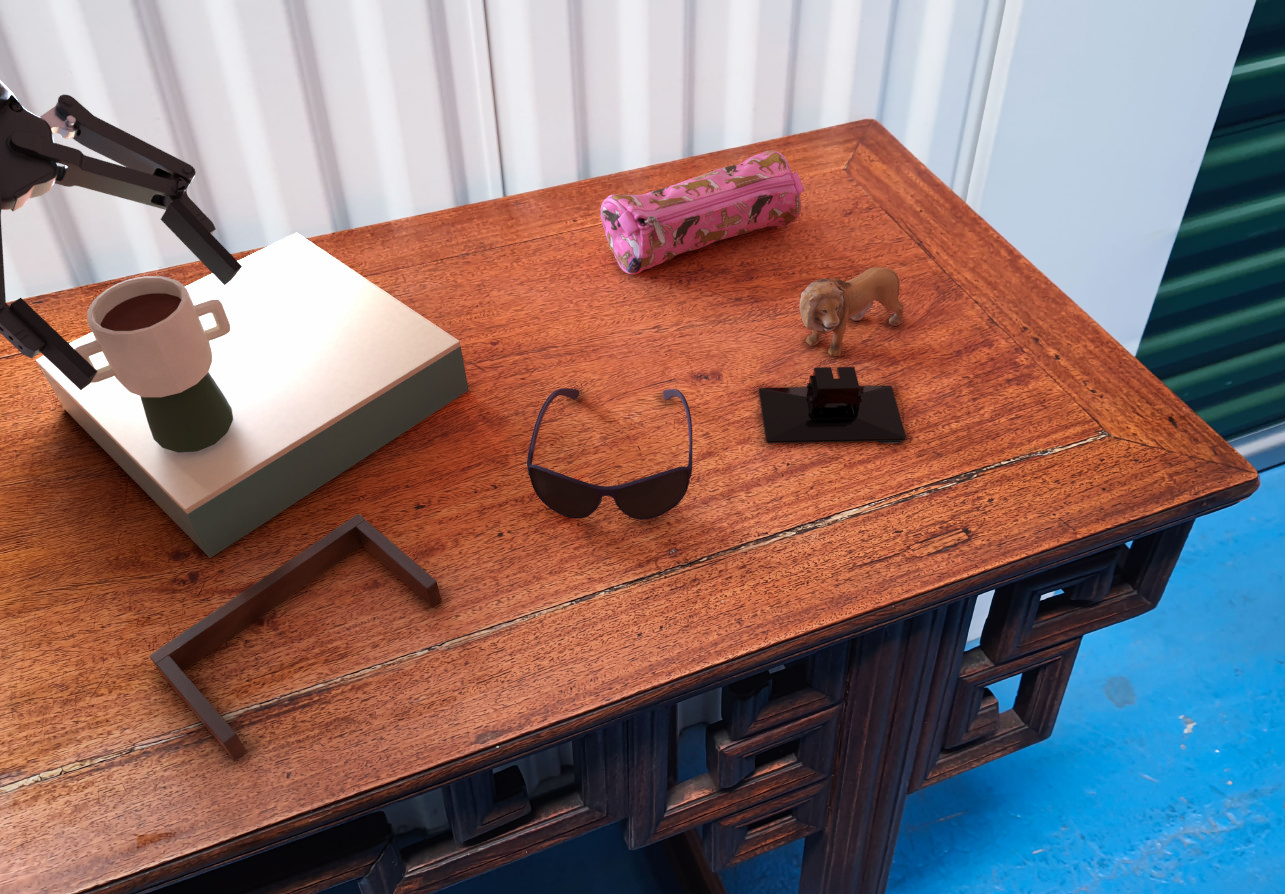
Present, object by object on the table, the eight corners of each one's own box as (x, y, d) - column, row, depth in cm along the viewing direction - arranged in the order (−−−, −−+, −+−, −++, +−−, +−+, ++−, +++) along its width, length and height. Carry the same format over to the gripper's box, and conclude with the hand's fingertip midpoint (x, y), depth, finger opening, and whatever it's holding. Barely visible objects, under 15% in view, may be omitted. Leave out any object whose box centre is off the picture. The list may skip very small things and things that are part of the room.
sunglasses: (526, 523, 82) (520, 483, 78) (544, 394, 93) (540, 353, 89) (692, 526, 81) (693, 485, 78) (690, 395, 92) (691, 354, 89)
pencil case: (634, 295, 103) (632, 222, 97) (595, 250, 109) (591, 178, 103) (805, 240, 110) (815, 168, 104) (761, 200, 116) (767, 130, 110)
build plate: (890, 389, 93) (899, 350, 90) (906, 444, 88) (916, 406, 85) (758, 390, 93) (762, 352, 89) (766, 445, 88) (771, 407, 84)
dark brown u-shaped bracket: (234, 761, 67) (223, 743, 65) (161, 674, 72) (148, 655, 70) (442, 600, 76) (437, 581, 75) (364, 532, 81) (358, 512, 79)
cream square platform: (210, 558, 80) (184, 509, 75) (63, 408, 92) (34, 359, 88) (469, 390, 93) (460, 340, 89) (311, 280, 106) (296, 232, 102)
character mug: (247, 382, 85) (197, 255, 76) (276, 429, 81) (227, 301, 72) (117, 433, 81) (47, 305, 72) (140, 486, 77) (69, 357, 68)
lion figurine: (821, 383, 93) (833, 306, 87) (778, 356, 96) (787, 280, 90) (915, 316, 100) (932, 240, 94) (872, 292, 103) (887, 218, 97)
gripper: (67, 44, 77) (268, 258, 82) (-267, 198, 61) (9, 448, 67) (87, -15, 71) (301, 218, 77) (-275, 138, 56) (27, 416, 61)
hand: (166, 326), depth 72 cm, fingers open, 13 cm apart
